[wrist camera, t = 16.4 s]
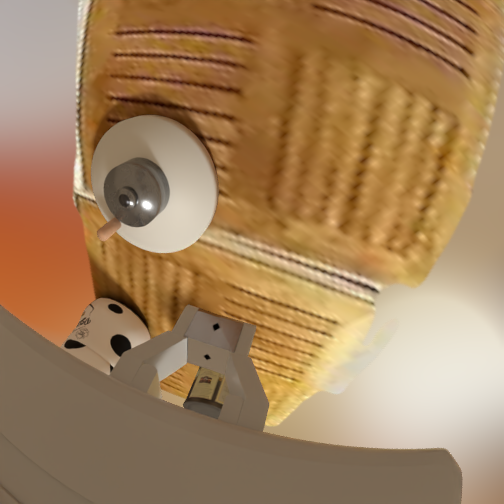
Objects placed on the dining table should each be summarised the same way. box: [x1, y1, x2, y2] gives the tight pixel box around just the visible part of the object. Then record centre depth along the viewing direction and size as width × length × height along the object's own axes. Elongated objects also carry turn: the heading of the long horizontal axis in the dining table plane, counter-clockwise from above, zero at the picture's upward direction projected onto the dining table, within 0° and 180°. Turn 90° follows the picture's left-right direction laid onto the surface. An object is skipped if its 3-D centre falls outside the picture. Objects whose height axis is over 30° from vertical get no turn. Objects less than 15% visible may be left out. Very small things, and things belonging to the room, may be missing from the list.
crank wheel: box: [91, 115, 219, 253], centre depth 37 cm, size 21×21×6 cm
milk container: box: [60, 298, 150, 375], centre depth 54 cm, size 17×17×18 cm
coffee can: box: [183, 367, 229, 419], centre depth 54 cm, size 10×10×14 cm
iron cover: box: [104, 157, 170, 227], centre depth 36 cm, size 9×9×5 cm
